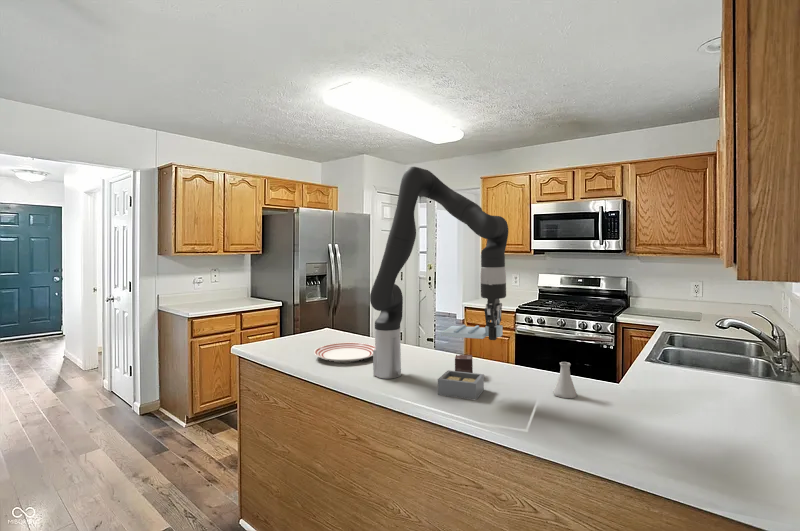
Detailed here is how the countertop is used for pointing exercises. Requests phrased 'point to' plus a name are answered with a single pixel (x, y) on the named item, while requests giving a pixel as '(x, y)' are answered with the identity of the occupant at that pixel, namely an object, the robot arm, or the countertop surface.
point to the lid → (471, 331)
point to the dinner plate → (345, 351)
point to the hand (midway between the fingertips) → (494, 338)
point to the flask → (565, 383)
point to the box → (463, 363)
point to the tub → (461, 385)
